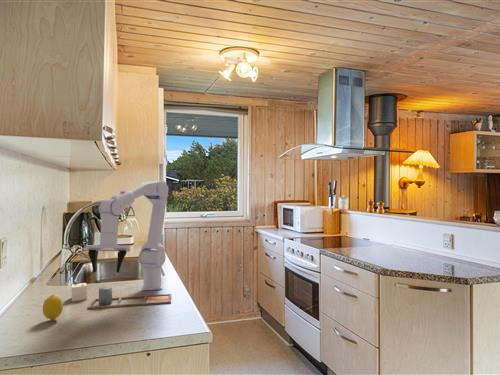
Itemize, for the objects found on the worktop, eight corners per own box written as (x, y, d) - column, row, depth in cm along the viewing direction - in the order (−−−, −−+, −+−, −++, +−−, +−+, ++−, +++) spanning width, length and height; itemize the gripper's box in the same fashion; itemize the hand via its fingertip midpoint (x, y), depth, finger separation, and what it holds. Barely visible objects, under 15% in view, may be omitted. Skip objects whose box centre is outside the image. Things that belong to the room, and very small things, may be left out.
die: (71, 297, 140) (71, 284, 140) (86, 295, 142) (86, 282, 142) (71, 301, 135) (71, 287, 135) (86, 299, 137) (86, 285, 137)
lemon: (40, 324, 112) (40, 298, 112) (45, 318, 118) (45, 293, 118) (60, 322, 114) (60, 296, 114) (64, 316, 119) (64, 291, 119)
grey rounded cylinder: (100, 302, 134) (100, 287, 134) (113, 301, 134) (112, 286, 134) (97, 306, 129) (97, 290, 129) (110, 305, 130) (110, 289, 130)
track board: (94, 300, 136) (94, 298, 136) (171, 295, 141) (171, 293, 141) (87, 309, 126) (87, 307, 126) (170, 303, 131) (170, 301, 131)
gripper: (84, 232, 126) (81, 273, 124) (129, 233, 128) (126, 273, 127) (89, 232, 133) (86, 270, 131) (131, 233, 135) (129, 271, 134)
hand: (106, 272), depth 130 cm, fingers open, 7 cm apart
